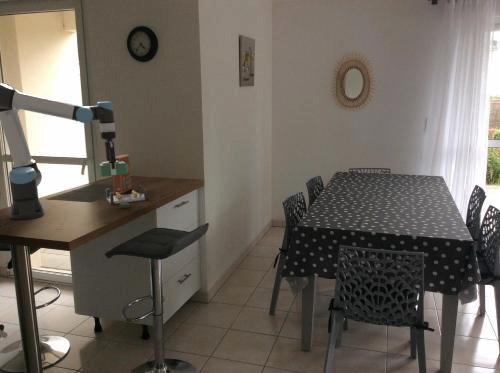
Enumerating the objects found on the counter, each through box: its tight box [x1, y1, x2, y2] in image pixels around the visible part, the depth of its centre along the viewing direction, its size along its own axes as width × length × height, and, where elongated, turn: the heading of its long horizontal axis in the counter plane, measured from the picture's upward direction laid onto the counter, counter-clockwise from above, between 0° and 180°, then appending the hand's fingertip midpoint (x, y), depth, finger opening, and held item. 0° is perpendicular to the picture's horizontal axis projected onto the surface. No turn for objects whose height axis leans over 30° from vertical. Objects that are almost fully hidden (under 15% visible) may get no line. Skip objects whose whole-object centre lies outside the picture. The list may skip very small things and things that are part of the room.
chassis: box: [105, 184, 149, 205], centre depth 257 cm, size 20×13×6 cm, turn 118°
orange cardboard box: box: [112, 154, 132, 194], centre depth 278 cm, size 21×7×15 cm
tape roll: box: [119, 202, 131, 210], centre depth 241 cm, size 5×5×2 cm
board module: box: [98, 161, 127, 178], centre depth 248 cm, size 13×7×7 cm, turn 116°
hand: (112, 173), depth 248 cm, fingers closed on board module, 7 cm apart
